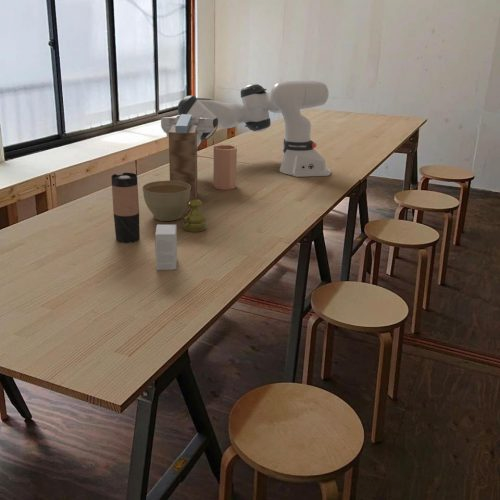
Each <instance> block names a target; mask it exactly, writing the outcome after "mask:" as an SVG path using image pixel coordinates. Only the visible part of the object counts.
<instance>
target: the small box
mask: <svg viewBox="0 0 500 500" xmlns="http://www.w3.org/2000/svg"><path fill="white" fill-rule="evenodd" d="M177 226H178V225H177V224H156V227H155V233H154V234H155V235H154V239H155V246H154V247H155V264H156V265H155V266H156V267H155V268H156V269H157V270H158V271H161V270H162V271H166V270H167V271H175V270H174V269H176V270H177V262H178V261H177V260H178V236H177V235H178V234H177V231H178V230H177ZM157 270H156V271H157Z"/></svg>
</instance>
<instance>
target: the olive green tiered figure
mask: <svg viewBox="0 0 500 500" xmlns="http://www.w3.org/2000/svg"><path fill="white" fill-rule="evenodd" d="M202 205H203V201H202V200H200V199H198V198H196V199H192V200H189V201H188V202H187V207H189V208H190V209H189V210H188V211H187V212H186V213H184V215H182V218H183V222H182V223H183V229H184V230H185V232H186V231H187V232H190V233H200V232H204V231H206V229H207V221H206V220H207V215H206V213H204V212H203V211H201V210H200V207H201V206H202Z"/></svg>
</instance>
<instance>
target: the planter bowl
mask: <svg viewBox="0 0 500 500" xmlns="http://www.w3.org/2000/svg"><path fill="white" fill-rule="evenodd" d="M141 189H142V192H143V193H142V195H143V198H144V202H145V204H146V206H147V208H148V211H150V212H151V214H152V216H153V218H154V220H157V221H161V222H169V221H170V222H173V221H176V220H179V219H181V218H183V213H184V212H185V210H186V209H187V207H188V205H187V202H188V201H189V199H190V190H191V186H190V184H188V183H185V182H181V181H170V180H157V181H151V182H148V183H145V184H144V185H142V188H141Z"/></svg>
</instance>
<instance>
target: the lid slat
mask: <svg viewBox="0 0 500 500" xmlns="http://www.w3.org/2000/svg"><path fill="white" fill-rule="evenodd" d="M191 116H192V114H181V116H180V118H179V120H178V122H177V124H176V126H175V131H176V133H187V132H188V130H189V127H190V124H191V122H192V121H191Z"/></svg>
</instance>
